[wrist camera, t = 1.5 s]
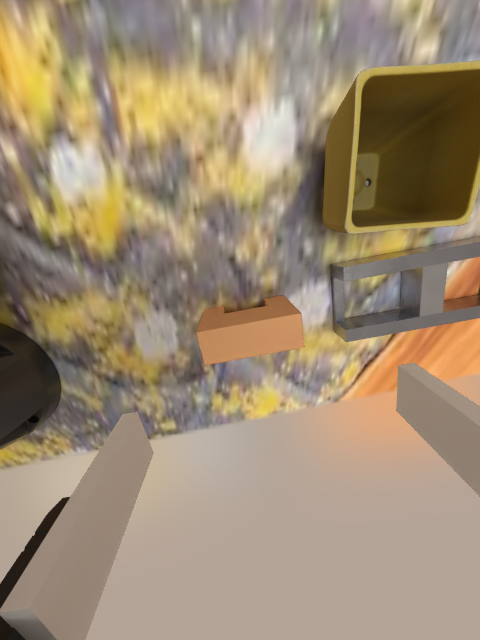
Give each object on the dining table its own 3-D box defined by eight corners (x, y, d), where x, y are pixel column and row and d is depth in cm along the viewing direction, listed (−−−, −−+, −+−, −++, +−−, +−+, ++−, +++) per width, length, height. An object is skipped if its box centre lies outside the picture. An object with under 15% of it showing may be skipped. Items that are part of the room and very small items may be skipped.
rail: (334, 331, 28) (346, 342, 25) (330, 264, 25) (343, 267, 23) (485, 304, 28) (514, 311, 25) (497, 233, 25) (531, 232, 22)
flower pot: (388, 230, 25) (472, 225, 16) (305, 236, 24) (346, 234, 16) (400, 129, 22) (511, 57, 13) (307, 135, 22) (357, 66, 13)
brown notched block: (210, 335, 27) (204, 365, 21) (204, 309, 26) (196, 332, 20) (286, 321, 27) (304, 347, 21) (283, 294, 26) (301, 313, 20)
